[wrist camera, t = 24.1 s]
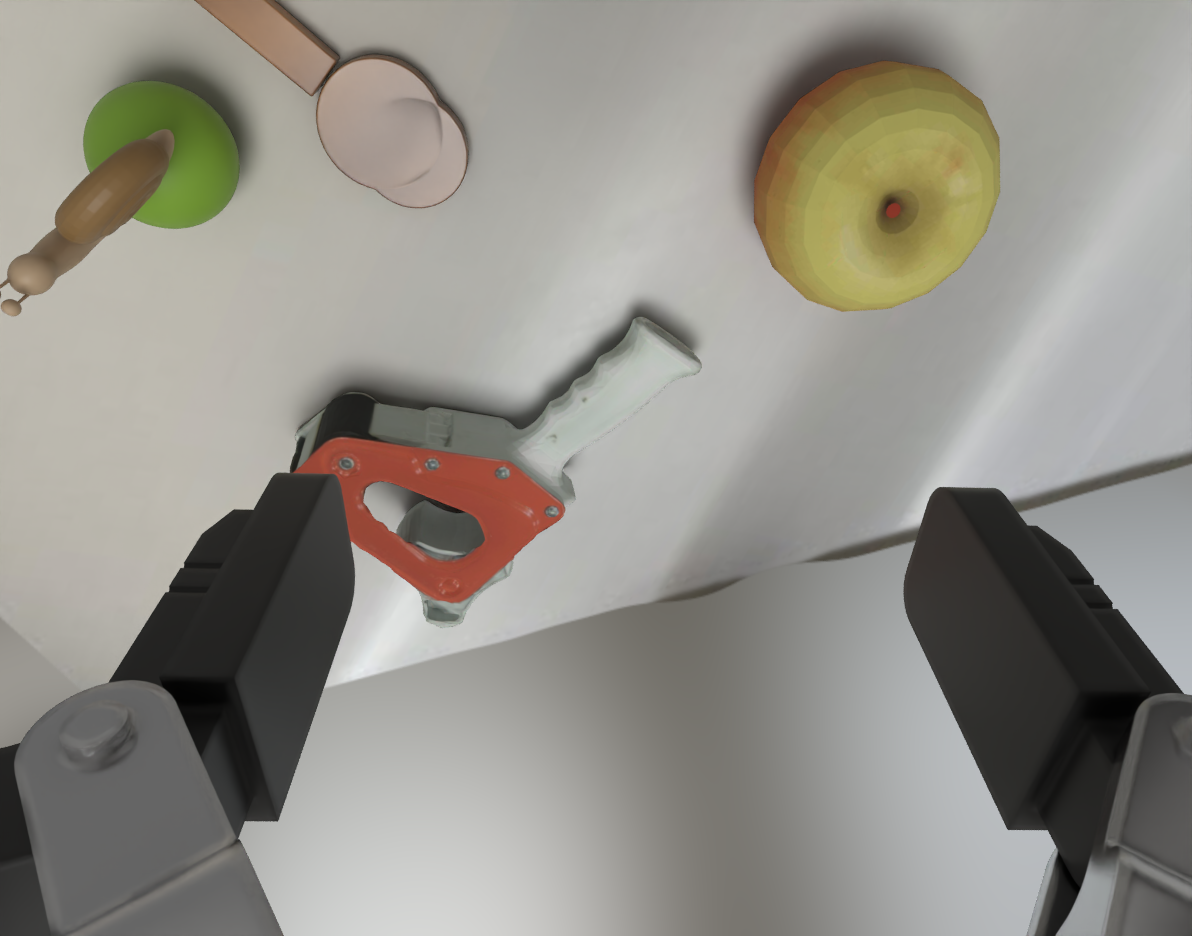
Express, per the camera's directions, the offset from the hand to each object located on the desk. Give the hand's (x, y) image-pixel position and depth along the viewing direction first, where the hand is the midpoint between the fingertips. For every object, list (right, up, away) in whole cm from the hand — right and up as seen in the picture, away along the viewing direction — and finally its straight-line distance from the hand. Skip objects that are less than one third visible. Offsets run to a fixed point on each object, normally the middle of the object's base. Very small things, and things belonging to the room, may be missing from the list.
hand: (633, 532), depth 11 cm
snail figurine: (-18, +14, +24) cm, 33 cm away
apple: (+11, +15, +26) cm, 32 cm away
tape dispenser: (-6, +2, +33) cm, 34 cm away
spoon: (-14, +19, +21) cm, 31 cm away
